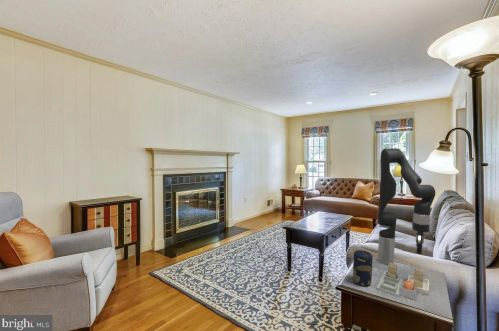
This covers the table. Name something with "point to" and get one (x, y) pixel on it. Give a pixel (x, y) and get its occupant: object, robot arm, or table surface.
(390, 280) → the board
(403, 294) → the console
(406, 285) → the button
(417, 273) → the billet
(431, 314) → the table surface
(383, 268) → the table surface
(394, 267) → the billet
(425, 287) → the pale shallow tray
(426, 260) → the table surface
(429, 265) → the table surface
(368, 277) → the canister
